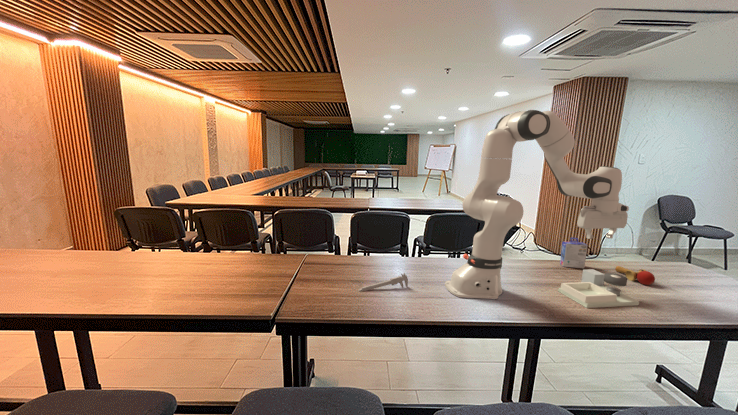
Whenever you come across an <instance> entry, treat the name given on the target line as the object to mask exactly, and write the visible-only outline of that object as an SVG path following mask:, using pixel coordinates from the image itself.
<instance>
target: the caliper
mask: <svg viewBox="0 0 738 415" xmlns="http://www.w3.org/2000/svg"><path fill="white" fill-rule="evenodd" d="M397 284H399V285H400V286H401V288H404V284H405V287H406V288H407V287H408V284H409V279H408V276H407V274H406V273H405V272H403V273H401V275H399V276H396V277H392V278H389V280H385V281H384V280H383V281H380V282H378V283H374V284H370V285H366V286H362V287H361V288H359V289H358V291H359V292H365V291H369V290H374V289H377V288H382V287H385V286H388V285H391V286H395V285H397Z"/></svg>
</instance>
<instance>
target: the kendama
mask: <svg viewBox="0 0 738 415" xmlns="http://www.w3.org/2000/svg"><path fill="white" fill-rule="evenodd" d="M614 270H615V271H616V272H617V273H622V274H625V277H626V278H627V280H629V281H630V282H631V281H632V282H634V281H636V280H637V281H638V282H639V283H640V284H642V285H645V286H650V285H653V283H655V281H656V277H655V275H654V274H653V273H652V272H650V271H648V270H646V269H644V268H643V269H642V268H641V269H639V270H638V271H634V270H632V269H628V268H626V267H623V266H620V265H617V266H615V269H614Z"/></svg>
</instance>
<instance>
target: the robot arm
mask: <svg viewBox="0 0 738 415" xmlns="http://www.w3.org/2000/svg"><path fill="white" fill-rule="evenodd" d="M484 137H485V138H484V140H483V145H482V148H481V155H480V157H481V158H480V164H479V170H478V171H479V172H478V177H477V181H476V184H475V186H474V187H473V189H472V191H470V193H468V194H467V195H465V197H464V199H463V201H462V210H463V212H464V213H465V214H466V215H467V216H469V217H471V218H472V219H475V220H479V221H483V222H484V226H483V228H482V229H481V230H480V231H477V232H476V233H475V234H474V236H473V239H472V240H473V242H472V250H471V251H472V252H471V254H470V255H468V253H464V254H463V255H462V258H463V259H464V260H467V262H465V263H463V265H461V266H460V267H458V268H456V269H455V270H454V271H453V272H452V274H451V277H450V280H446V281H445V283H444V286H445V288H446V290H447V291H448V292H450V293H451V294H452V295H454V296H456V297H458V298H468V299H470V298H471V299H487V300H488V299H490V300H491V299H493V300H495V299H496V300H497V299H498V298H499V297H500V295H502V294H503V289H502V288H503V287H502V280H501V270H502V267H503V256H502V255H503V248H504V241H505V238H506V235H507V233H508V232H509V230H511V228H512V227H513V228H514V227H515V226H516V225H518V224H519V223H520V222H521V220H522V219H523V217H524V206H523V204H522V203H521V202H520V201H519V200H517V199H514V198H512V197H509V196H504V195H498V192H499V189H500V188H501V186H502V185H505V184H506V183H507V182H509V180H510V178H511V170H512V163H513V152H514V151H513V150H514V146H515V144H516V143H517V142H520V143H522V142H526V141H533V140H534V141H536V142H537V145H539V147H540V149H541V150H542V151H543V156H544V160H545V162H546V164H547V166H548V167H549V169H550V171H551V173H552V175H553V176H554V179H555V181H556V184H557V189H558V192H560V194H562V196H566V197H575V198H583V199H590V200H591V203H590V206H589V205H588V206H587V205H586V206H584V207H582V208H580V209H581V210H580V211H579V212H580V213H579V215H578V217H577V223H576V225H577V227H578V228H580V229H584V231H585V234H586V236H585V237H586V239H588V240H592V239H594V234H592V232H593V230H594V229H595V230H596V229H600V230H601V229H608V230H609V232H607V233H606V234H605V238H606V239H610V240H611V239H613V237H614V235H615V233H616V232H617V229H624V228H625V227H626V226H627V223H628V215H629V214H628V211H629V210H630V207H629V206H628V205H626V204H623V203H621V202H620V196H619V194H620V192H621V189H622V182H623V173H622V170H621V169H620V168H618V167H614V166H608V165H607V166H605V165H602V166H599V167H598V169H596V170H594V171H593V172H590V173H587V174H586V173H585V174H584V173H575V172H574V171H572V170H571V169H570V168H569V165H568V163H567V161H566V159H565V157H566V156H568V154H570V152H572V150H573V149H574V146H575V144H576V141H575V137H574V135H573V133H572V131H571V130H570V129H569V127H568V125H566V123H565V122H564V121H563V120H562V119H561V118H560V117H559V116H558V115H557V114H556V113H555V112H554V111H552V110H544V111H541V110H537V109H529V110H523V111H519V110H518V111H515V112H513V113H510V114H509V113H508V114H506V115H504V116H502V117H501V118H500V119H499V120H498V121H497V123H495V127H494V129H491V130H489V131H488V132H487V133H486V135H485V136H484Z"/></svg>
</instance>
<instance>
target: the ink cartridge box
mask: <svg viewBox="0 0 738 415" xmlns="http://www.w3.org/2000/svg"><path fill="white" fill-rule="evenodd" d="M560 250H561V252H560V260H559V265H561V266H562V267H564V268H565V267H567V268H574V269H575V268H577V269H585V267H586V258H587V252H588V244H586V243H585V242H579V238H578V237H569V241H562V243H561V249H560Z"/></svg>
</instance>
